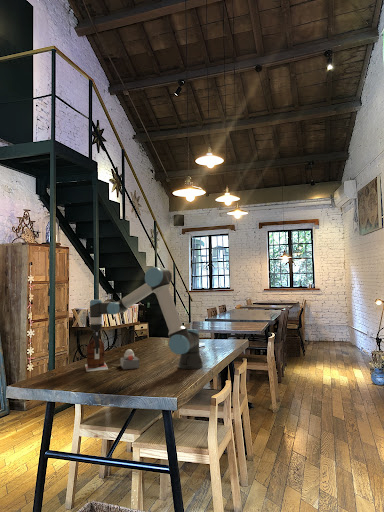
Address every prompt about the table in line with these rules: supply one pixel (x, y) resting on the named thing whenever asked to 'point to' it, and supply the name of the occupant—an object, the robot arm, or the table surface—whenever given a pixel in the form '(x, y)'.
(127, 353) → the dome
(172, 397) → the table surface
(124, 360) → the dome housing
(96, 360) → the wooden figurine
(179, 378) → the table surface
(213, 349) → the table surface
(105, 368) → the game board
